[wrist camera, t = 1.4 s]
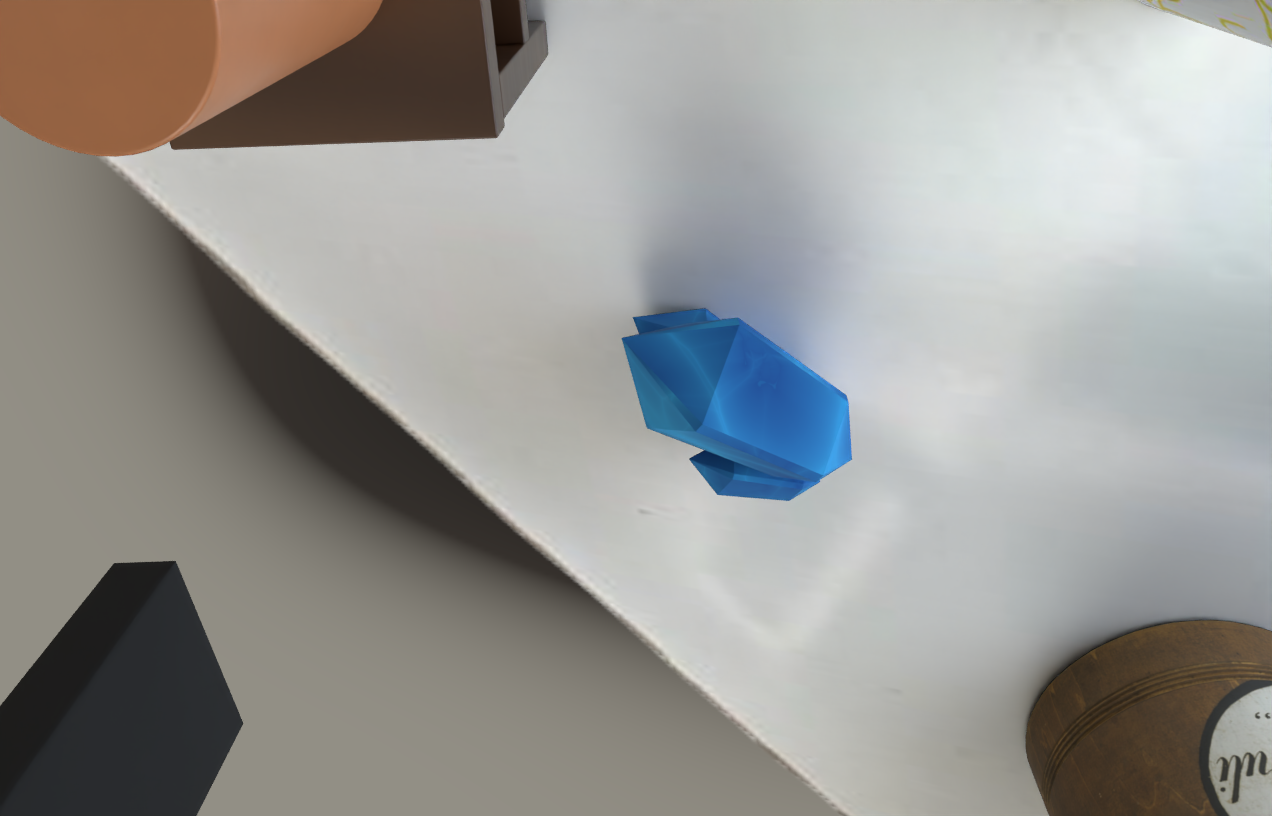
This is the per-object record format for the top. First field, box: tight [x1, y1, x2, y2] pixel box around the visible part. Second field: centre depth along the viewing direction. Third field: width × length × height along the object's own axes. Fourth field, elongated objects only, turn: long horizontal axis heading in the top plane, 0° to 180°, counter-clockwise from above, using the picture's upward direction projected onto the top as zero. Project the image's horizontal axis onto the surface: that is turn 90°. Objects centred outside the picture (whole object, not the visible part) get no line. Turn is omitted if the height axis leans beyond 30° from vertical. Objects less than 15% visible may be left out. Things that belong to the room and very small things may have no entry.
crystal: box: [622, 308, 852, 501], centre depth 37 cm, size 7×9×12 cm
